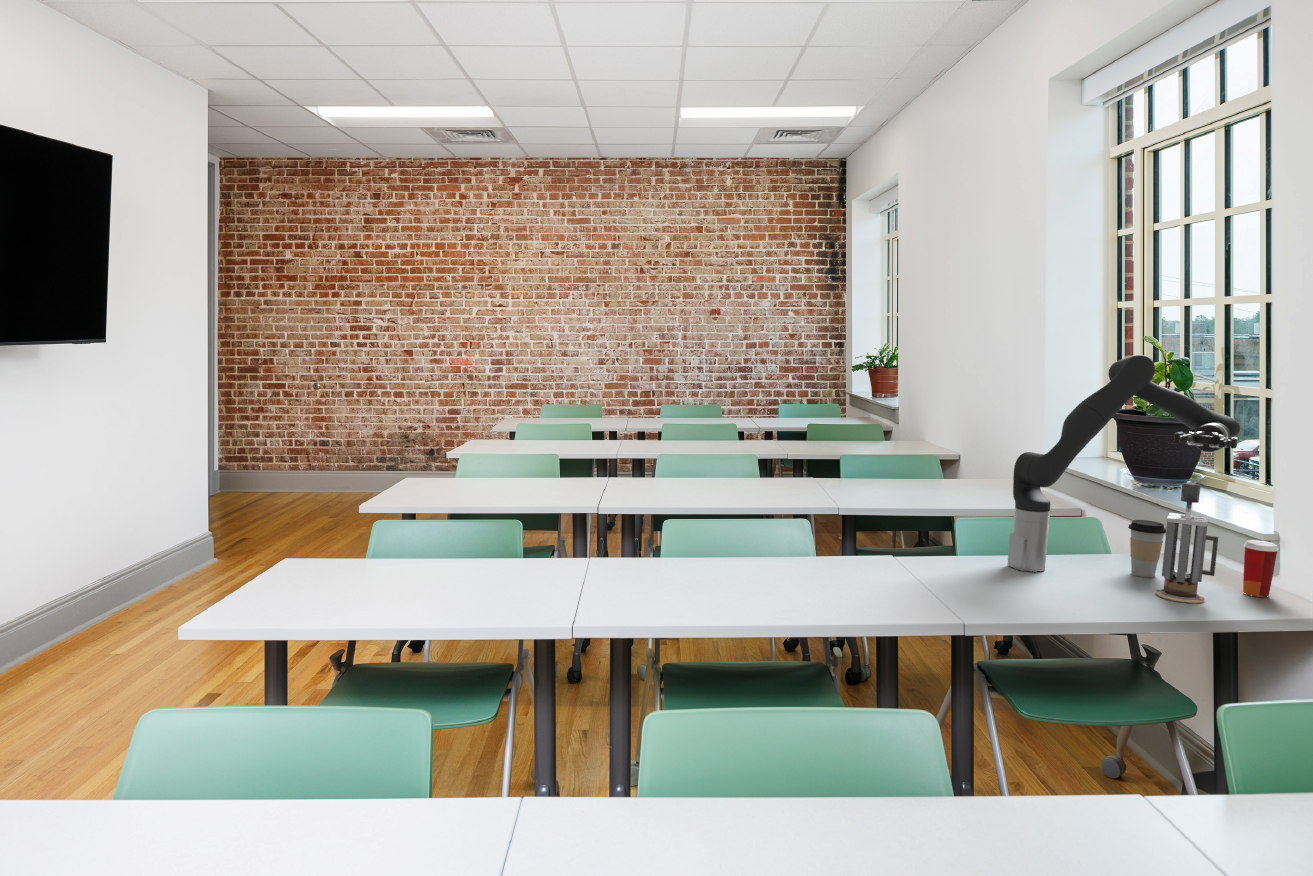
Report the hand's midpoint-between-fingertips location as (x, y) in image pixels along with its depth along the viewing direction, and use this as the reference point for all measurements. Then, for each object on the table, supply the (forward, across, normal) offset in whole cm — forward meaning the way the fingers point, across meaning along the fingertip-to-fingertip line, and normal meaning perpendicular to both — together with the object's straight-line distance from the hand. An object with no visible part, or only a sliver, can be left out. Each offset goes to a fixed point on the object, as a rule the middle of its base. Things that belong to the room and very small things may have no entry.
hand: (1201, 441), depth 230 cm
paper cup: (-7, +15, +40) cm, 43 cm away
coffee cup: (-7, -11, +40) cm, 42 cm away
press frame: (+11, +1, +40) cm, 41 cm away
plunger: (+11, +1, +34) cm, 36 cm away
